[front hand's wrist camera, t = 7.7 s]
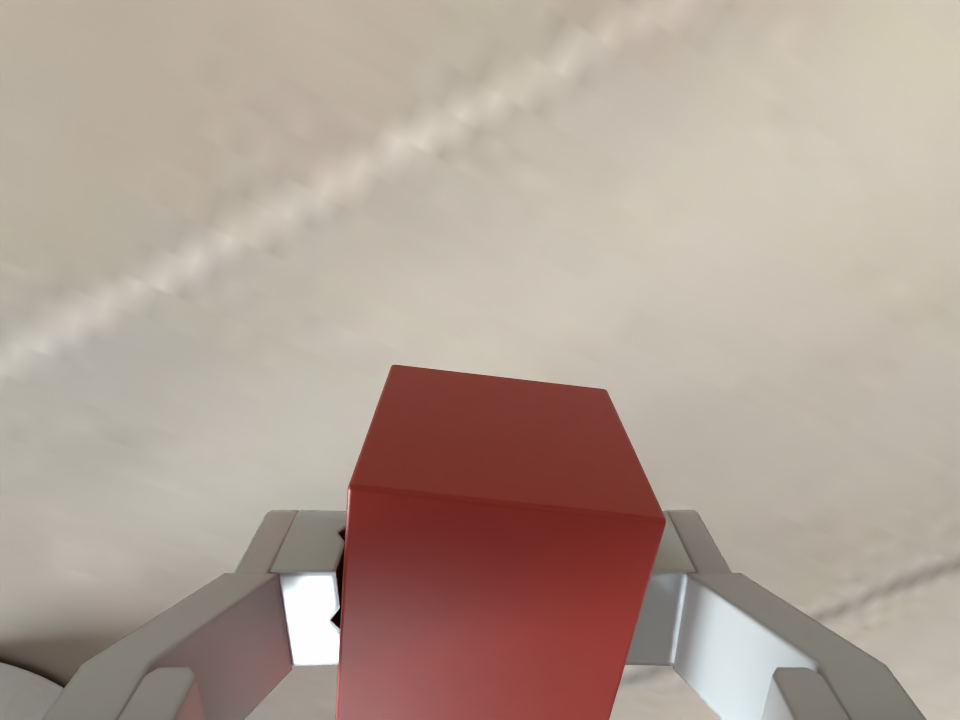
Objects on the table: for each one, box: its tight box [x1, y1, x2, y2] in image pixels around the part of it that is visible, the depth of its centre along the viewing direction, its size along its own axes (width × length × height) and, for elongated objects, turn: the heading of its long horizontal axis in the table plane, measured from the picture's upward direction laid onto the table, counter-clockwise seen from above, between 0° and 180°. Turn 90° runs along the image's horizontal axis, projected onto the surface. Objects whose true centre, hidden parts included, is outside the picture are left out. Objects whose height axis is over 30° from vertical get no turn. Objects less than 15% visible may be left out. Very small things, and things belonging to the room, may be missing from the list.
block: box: [335, 365, 666, 720], centre depth 10 cm, size 5×4×4 cm
